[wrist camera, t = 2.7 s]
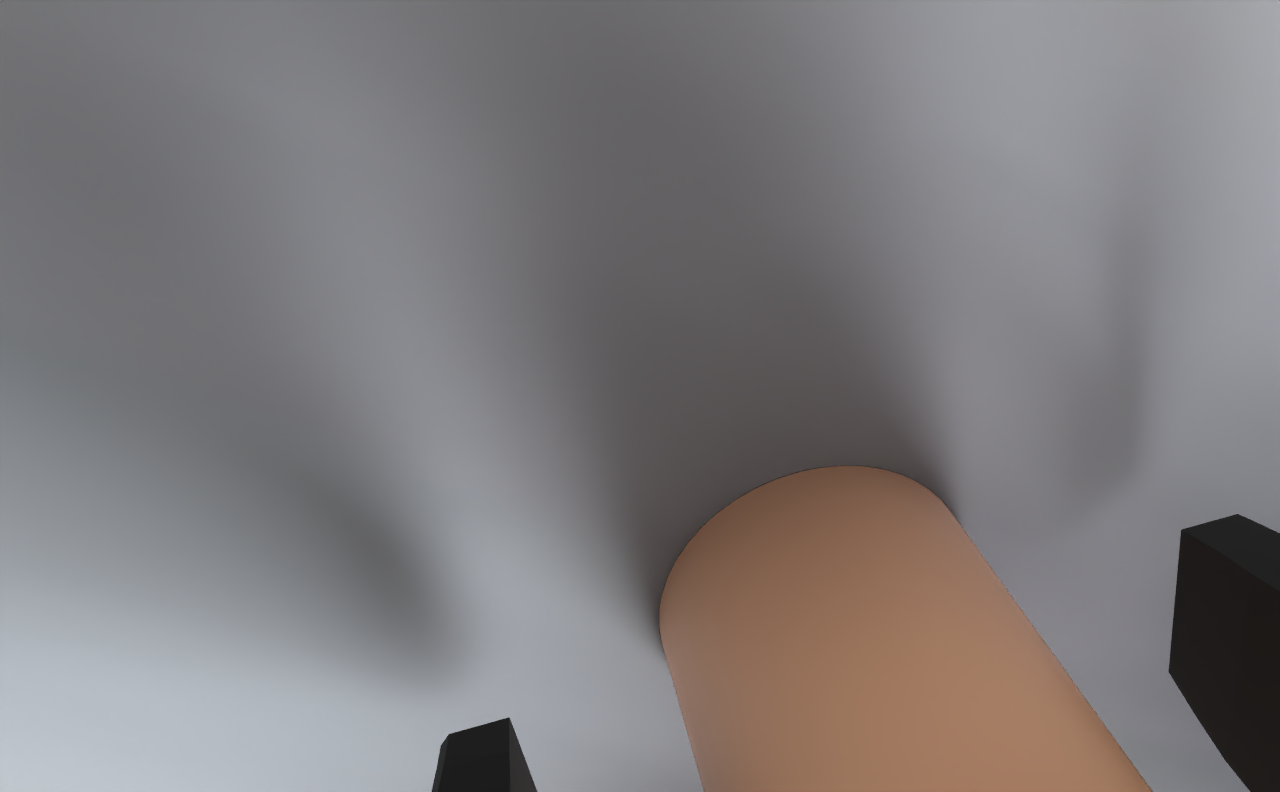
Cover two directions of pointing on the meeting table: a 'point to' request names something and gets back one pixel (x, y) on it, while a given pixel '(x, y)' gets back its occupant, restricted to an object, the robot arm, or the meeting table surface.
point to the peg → (867, 652)
